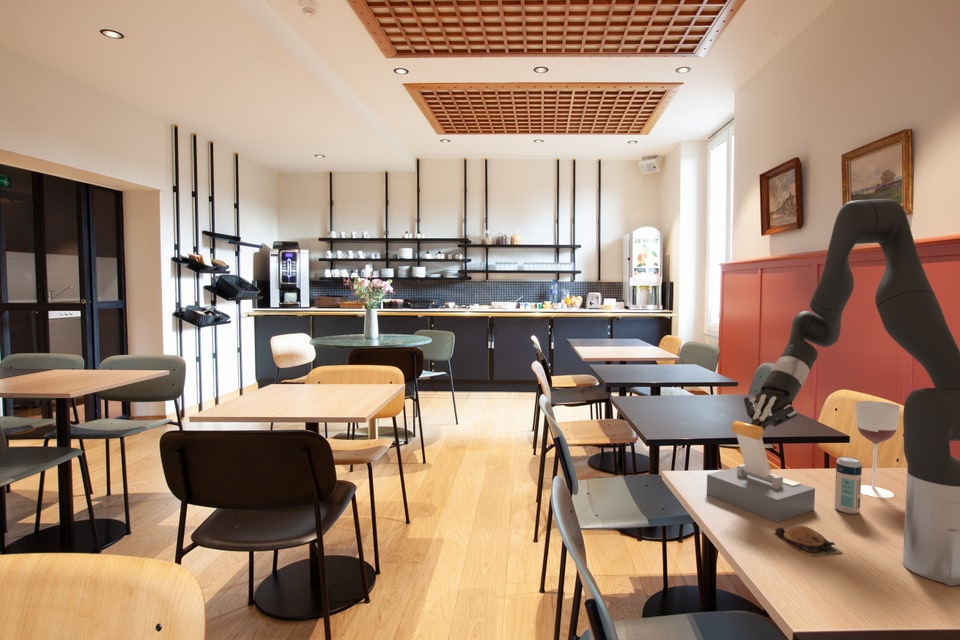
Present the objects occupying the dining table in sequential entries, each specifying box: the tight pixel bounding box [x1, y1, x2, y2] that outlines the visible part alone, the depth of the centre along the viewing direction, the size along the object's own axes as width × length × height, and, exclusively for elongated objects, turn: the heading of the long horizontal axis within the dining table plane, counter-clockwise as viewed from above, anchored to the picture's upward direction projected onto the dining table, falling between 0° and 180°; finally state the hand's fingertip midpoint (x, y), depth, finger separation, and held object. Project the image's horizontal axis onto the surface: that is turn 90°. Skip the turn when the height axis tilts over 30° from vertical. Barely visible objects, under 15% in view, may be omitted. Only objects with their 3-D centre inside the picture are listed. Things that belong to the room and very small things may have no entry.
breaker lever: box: [731, 420, 774, 483], centre depth 125 cm, size 3×7×15 cm, turn 28°
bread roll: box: [773, 525, 843, 558], centre depth 107 cm, size 11×8×4 cm
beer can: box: [834, 456, 863, 515], centre depth 122 cm, size 5×5×12 cm
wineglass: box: [854, 400, 901, 499], centre depth 133 cm, size 9×10×22 cm
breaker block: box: [706, 463, 816, 523], centre depth 127 cm, size 14×18×8 cm
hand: (752, 435), depth 125 cm, fingers closed
